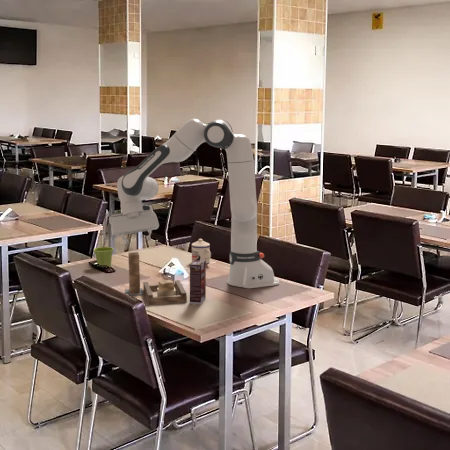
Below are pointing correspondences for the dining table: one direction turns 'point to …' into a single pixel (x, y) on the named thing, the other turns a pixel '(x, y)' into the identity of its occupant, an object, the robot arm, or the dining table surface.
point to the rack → (164, 299)
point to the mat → (134, 293)
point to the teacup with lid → (201, 251)
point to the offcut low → (166, 292)
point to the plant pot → (104, 255)
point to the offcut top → (166, 285)
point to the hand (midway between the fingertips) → (138, 241)
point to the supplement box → (197, 282)
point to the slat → (134, 272)
